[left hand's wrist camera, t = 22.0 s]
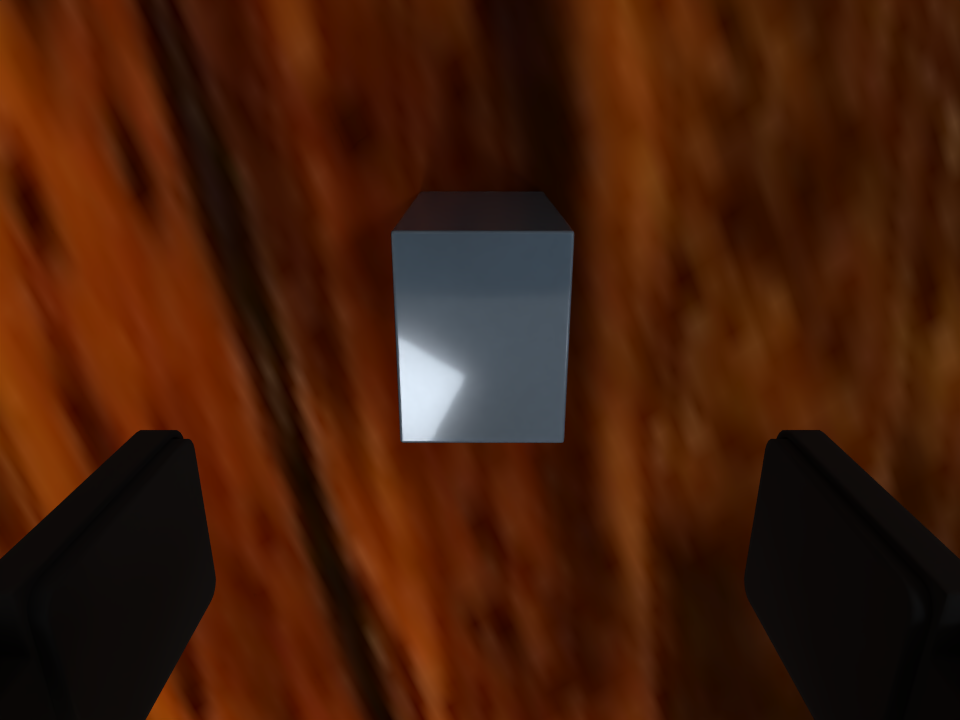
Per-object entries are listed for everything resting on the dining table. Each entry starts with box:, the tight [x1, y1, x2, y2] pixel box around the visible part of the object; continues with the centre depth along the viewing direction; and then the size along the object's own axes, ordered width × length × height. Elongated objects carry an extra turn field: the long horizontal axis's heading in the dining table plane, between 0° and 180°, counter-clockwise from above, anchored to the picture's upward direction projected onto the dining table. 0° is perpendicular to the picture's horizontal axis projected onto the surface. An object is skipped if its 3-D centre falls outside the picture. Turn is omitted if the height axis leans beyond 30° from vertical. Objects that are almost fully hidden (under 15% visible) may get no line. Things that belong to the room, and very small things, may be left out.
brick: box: [391, 192, 574, 443], centre depth 24 cm, size 5×6×9 cm
